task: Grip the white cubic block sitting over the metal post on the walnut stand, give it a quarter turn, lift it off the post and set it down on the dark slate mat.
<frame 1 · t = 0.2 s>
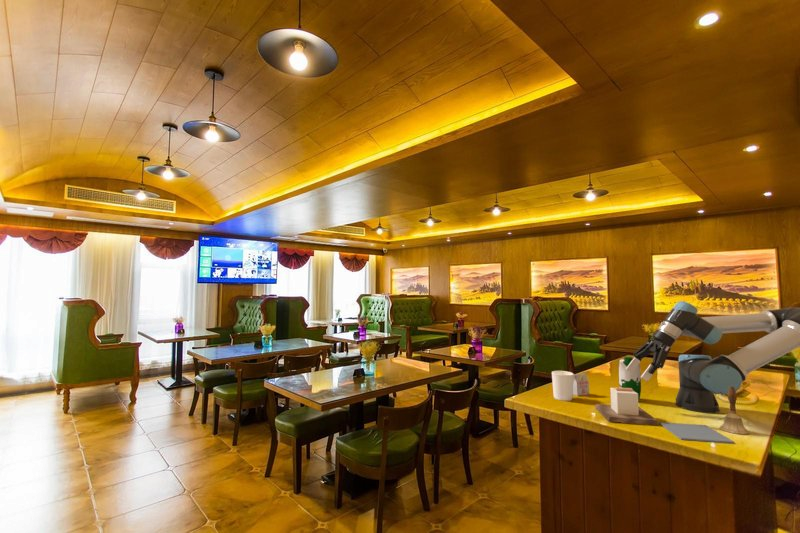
hand: (635, 375, 159), 16 cm above the worktop, tool tilted 35°, fingers open, 13 cm apart
candle holder: (563, 398, 178), on the worktop
mat: (694, 432, 136), on the worktop
tea bag: (580, 395, 185), on the worktop
milk carton: (630, 399, 177), on the worktop
white cubic block: (624, 411, 153), point 2 cm above the worktop, touching post stand
hand bell: (734, 431, 138), on the worktop
post stand: (624, 416, 153), on the worktop
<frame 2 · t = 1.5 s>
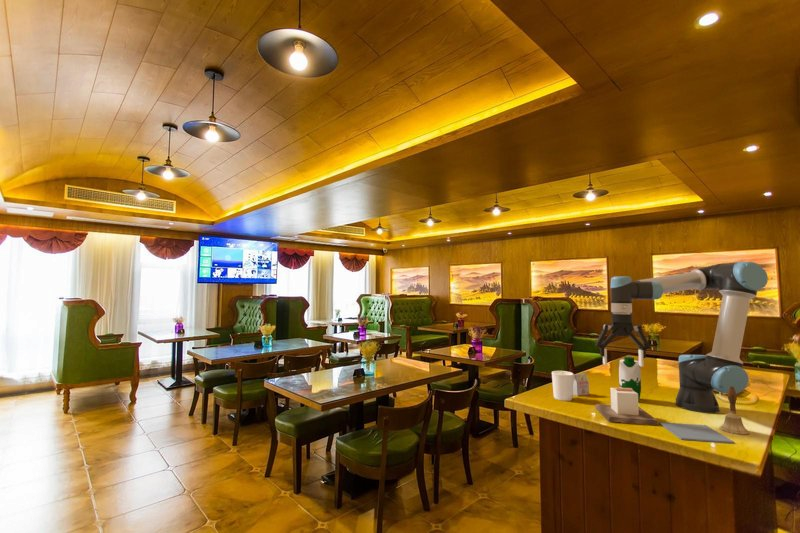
hand: (622, 365, 154), 21 cm above the worktop, tool pointing down, fingers open, 13 cm apart
nothing on the worktop moved.
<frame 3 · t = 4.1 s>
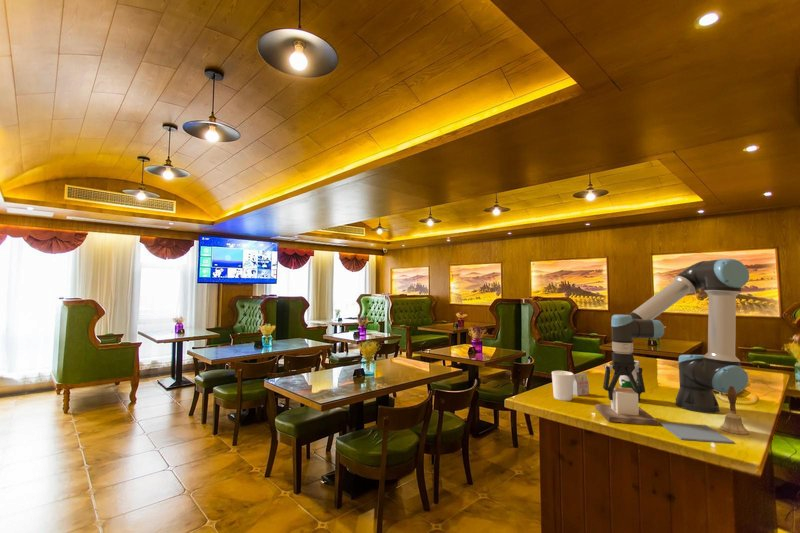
hand: (624, 408, 153), 3 cm above the worktop, tool pointing down, fingers closed on white cubic block, 8 cm apart
white cubic block: (624, 411, 153), point 2 cm above the worktop, touching gripper, post stand
everything else where it was.
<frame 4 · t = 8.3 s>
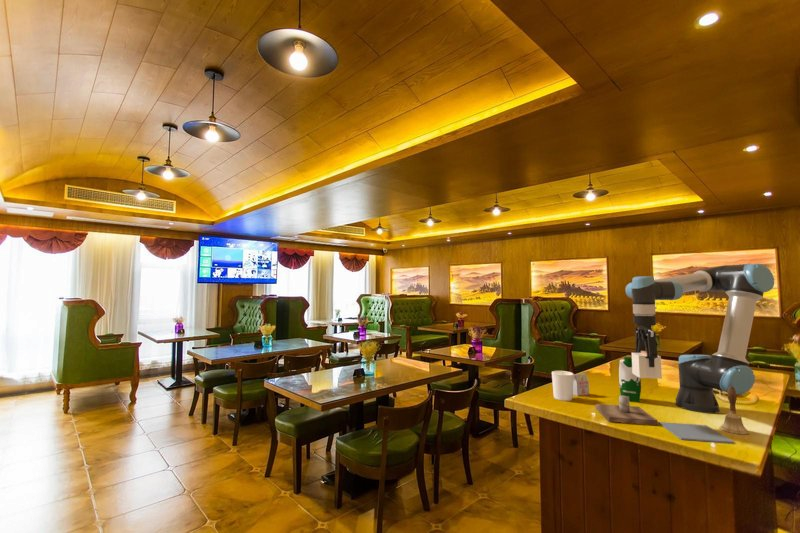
hand: (646, 373, 148), 19 cm above the worktop, tool pointing down, fingers closed on white cubic block, 8 cm apart
white cubic block: (646, 376, 148), point 18 cm above the worktop, touching gripper
everything else where it was.
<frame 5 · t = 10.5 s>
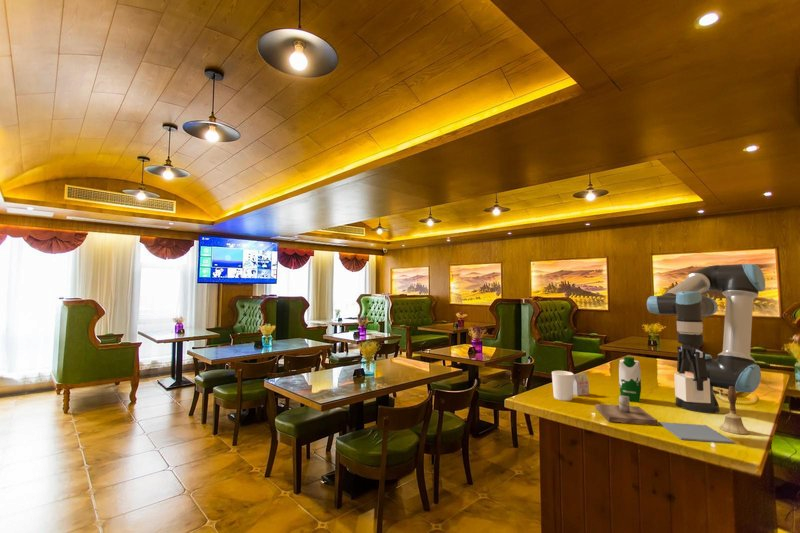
hand: (692, 396, 136), 13 cm above the worktop, tool pointing down, fingers closed on white cubic block, 8 cm apart
white cubic block: (692, 399, 136), point 12 cm above the worktop, touching gripper
everything else where it was.
when the fingers open (4 cm above the worktop, at t = 12.5 s): white cubic block drops 2 cm, resting on mat.
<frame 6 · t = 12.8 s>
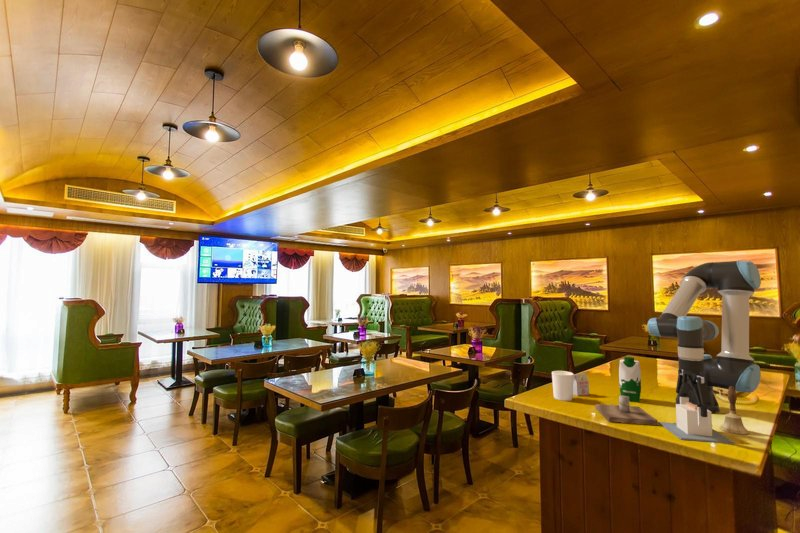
hand: (693, 420, 136), 5 cm above the worktop, tool pointing down, fingers open, 11 cm apart
white cubic block: (693, 431, 136), point 1 cm above the worktop, touching mat
everything else where it was.
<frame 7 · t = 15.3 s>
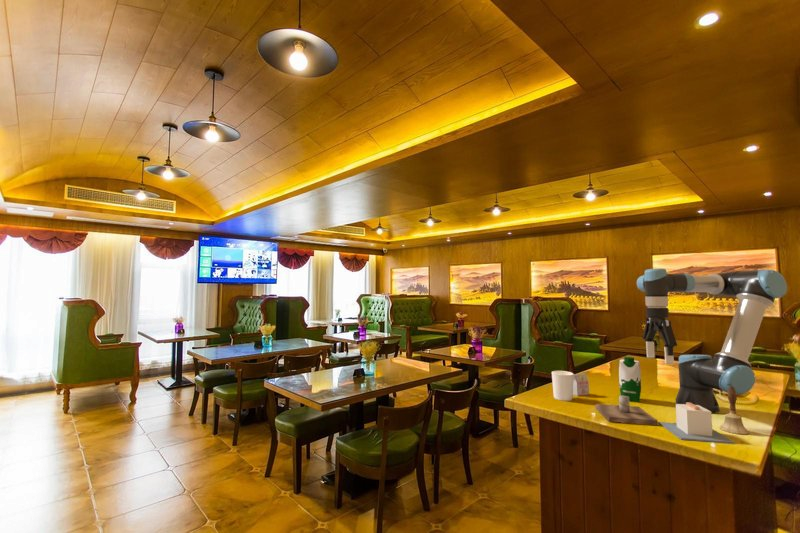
hand: (659, 360, 149), 24 cm above the worktop, tool pointing down, fingers open, 13 cm apart
nothing on the worktop moved.
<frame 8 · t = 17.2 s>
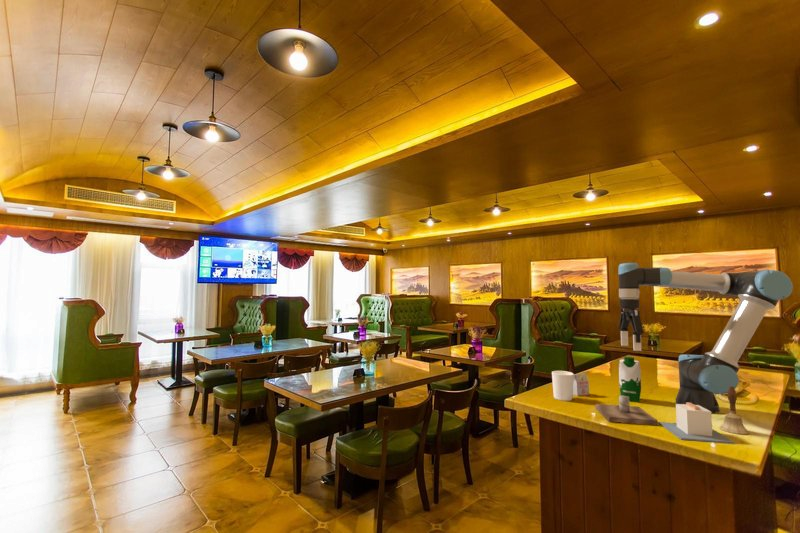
hand: (630, 348, 161), 27 cm above the worktop, tool pointing down, fingers open, 13 cm apart
nothing on the worktop moved.
at the end: white cubic block inside the target area on the mat (0.0 cm from its centre), point 0.6 cm above the mat's base; white cubic block tilted 0°; the gripper is holding nothing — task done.
